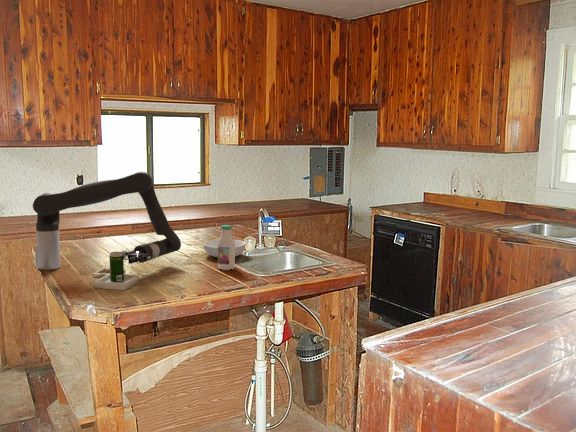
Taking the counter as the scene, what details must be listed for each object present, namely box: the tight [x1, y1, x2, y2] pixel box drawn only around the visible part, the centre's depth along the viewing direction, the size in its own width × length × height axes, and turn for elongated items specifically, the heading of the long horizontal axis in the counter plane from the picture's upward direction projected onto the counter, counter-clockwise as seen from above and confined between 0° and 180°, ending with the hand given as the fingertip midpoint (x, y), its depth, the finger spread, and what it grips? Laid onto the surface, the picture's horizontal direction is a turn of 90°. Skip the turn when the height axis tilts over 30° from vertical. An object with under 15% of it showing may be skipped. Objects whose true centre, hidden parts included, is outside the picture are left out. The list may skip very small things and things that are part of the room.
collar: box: [92, 267, 126, 279], centre depth 235 cm, size 10×10×2 cm
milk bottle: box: [217, 224, 236, 271], centre depth 248 cm, size 8×8×20 cm
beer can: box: [108, 251, 125, 283], centre depth 220 cm, size 5×5×12 cm
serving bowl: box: [203, 238, 247, 258], centre depth 273 cm, size 21×21×7 cm
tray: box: [93, 272, 140, 291], centre depth 221 cm, size 13×13×2 cm
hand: (120, 260), depth 221 cm, fingers open, 8 cm apart
